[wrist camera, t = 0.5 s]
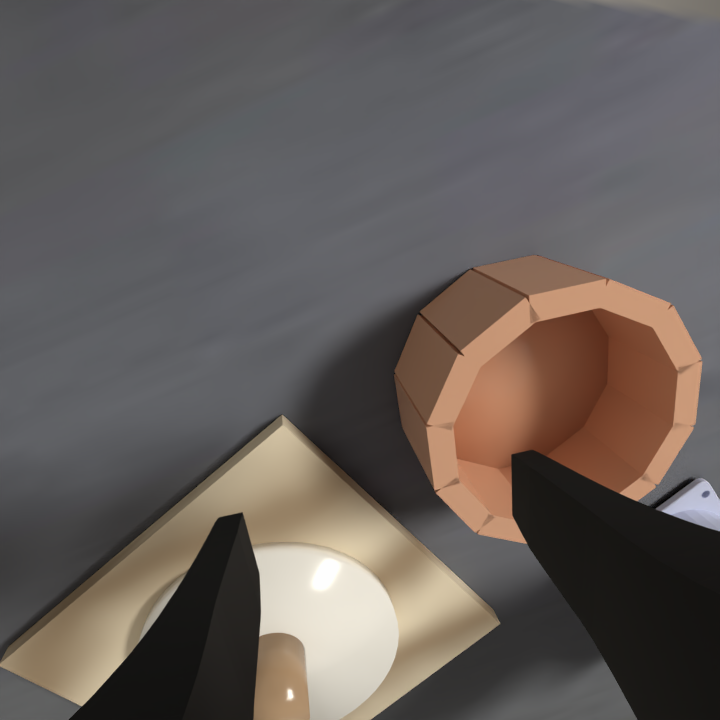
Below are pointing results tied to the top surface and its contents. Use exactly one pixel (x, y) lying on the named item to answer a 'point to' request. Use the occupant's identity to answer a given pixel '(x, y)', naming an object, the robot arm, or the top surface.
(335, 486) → the board
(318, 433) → the top surface
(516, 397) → the bowl
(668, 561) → the robot arm
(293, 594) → the lid
